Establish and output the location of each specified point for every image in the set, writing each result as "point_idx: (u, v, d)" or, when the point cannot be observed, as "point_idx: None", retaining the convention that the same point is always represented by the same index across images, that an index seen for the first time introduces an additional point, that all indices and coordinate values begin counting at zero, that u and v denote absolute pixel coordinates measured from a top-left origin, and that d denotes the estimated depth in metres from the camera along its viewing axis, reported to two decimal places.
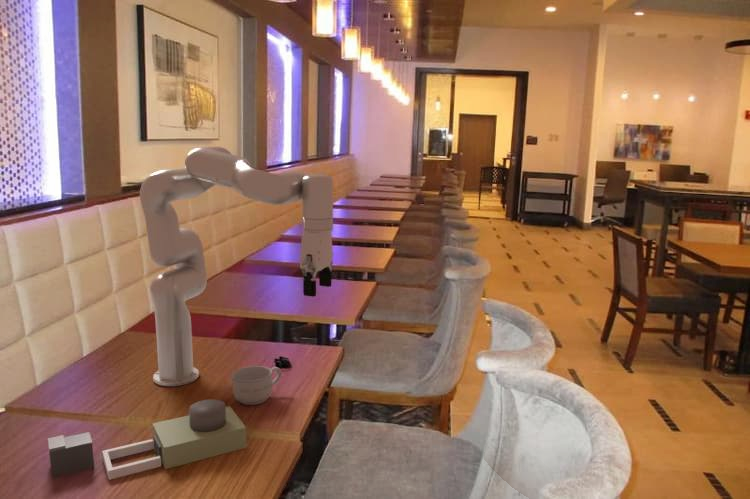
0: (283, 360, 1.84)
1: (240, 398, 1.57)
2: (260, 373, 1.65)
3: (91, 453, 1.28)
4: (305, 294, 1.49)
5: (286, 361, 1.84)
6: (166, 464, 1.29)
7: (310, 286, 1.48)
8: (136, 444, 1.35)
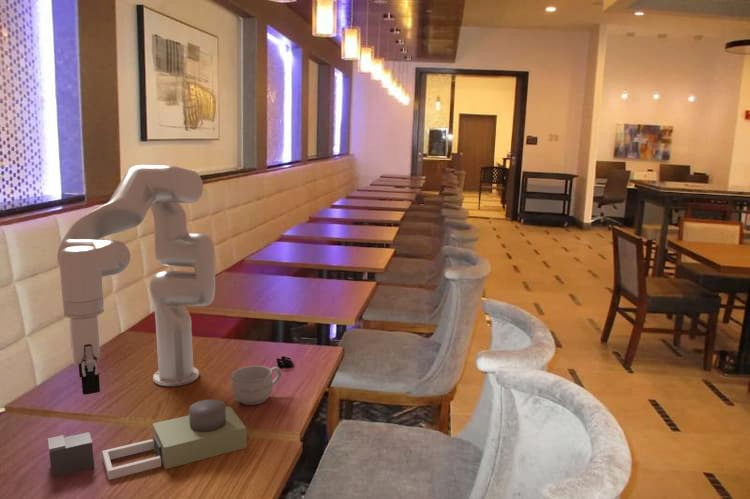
0: (285, 360, 1.84)
1: (240, 398, 1.57)
2: (260, 373, 1.65)
3: (91, 453, 1.28)
4: (85, 393, 1.23)
5: (288, 361, 1.84)
6: (166, 464, 1.29)
7: (94, 381, 1.23)
8: (136, 444, 1.35)
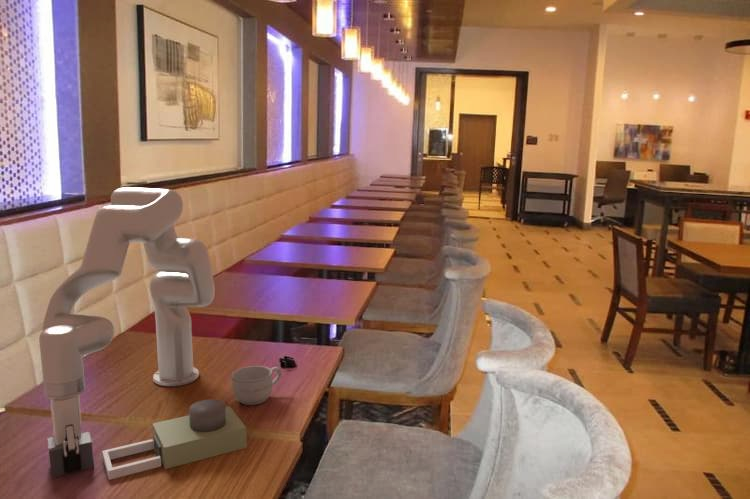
0: (288, 360, 1.85)
1: (240, 398, 1.57)
2: (260, 373, 1.65)
3: (91, 453, 1.28)
4: (67, 471, 1.26)
5: (291, 361, 1.85)
6: (166, 464, 1.29)
7: (76, 460, 1.26)
8: (136, 444, 1.35)
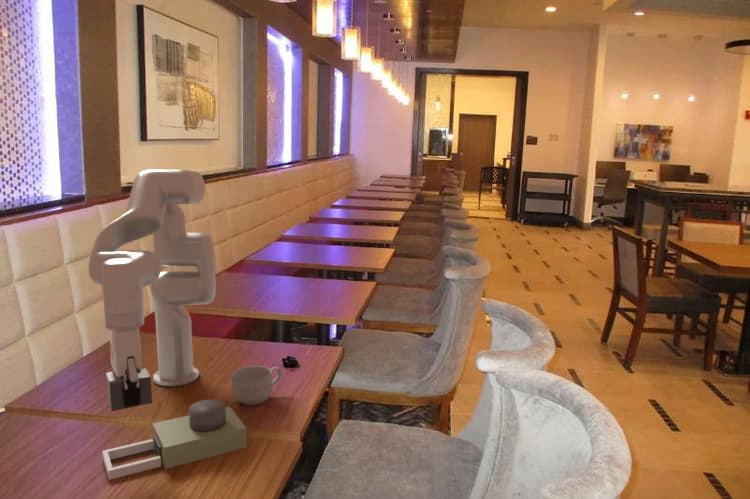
0: (291, 360, 1.85)
1: (240, 398, 1.57)
2: (260, 373, 1.65)
3: (149, 388, 1.28)
4: (127, 405, 1.25)
5: (294, 360, 1.85)
6: (166, 464, 1.29)
7: (136, 394, 1.25)
8: (136, 444, 1.35)
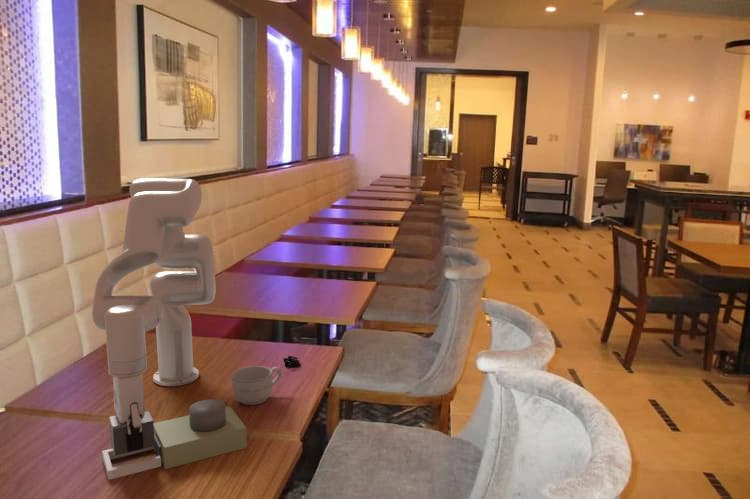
0: (292, 359, 1.85)
1: (240, 398, 1.57)
2: (260, 373, 1.65)
3: (152, 431, 1.30)
4: (130, 449, 1.27)
5: (295, 360, 1.85)
6: (166, 464, 1.29)
7: (139, 438, 1.27)
8: None
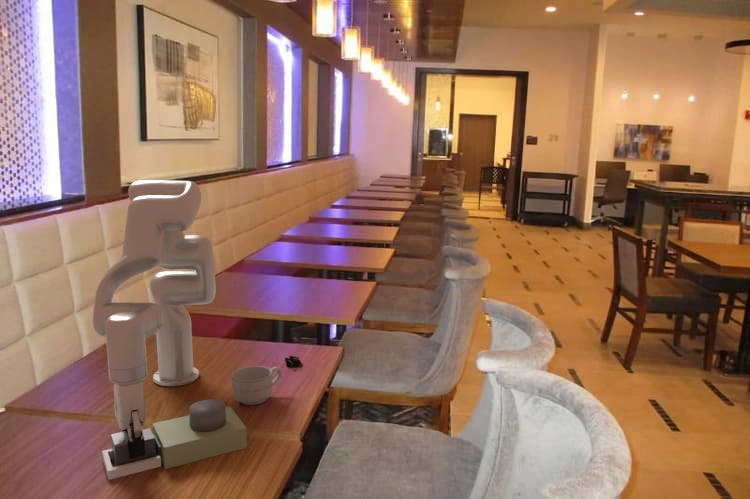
0: (294, 359, 1.85)
1: (240, 398, 1.57)
2: (260, 373, 1.65)
3: (153, 449, 1.31)
4: (132, 457, 1.26)
5: (297, 360, 1.85)
6: (166, 464, 1.29)
7: (140, 445, 1.26)
8: None
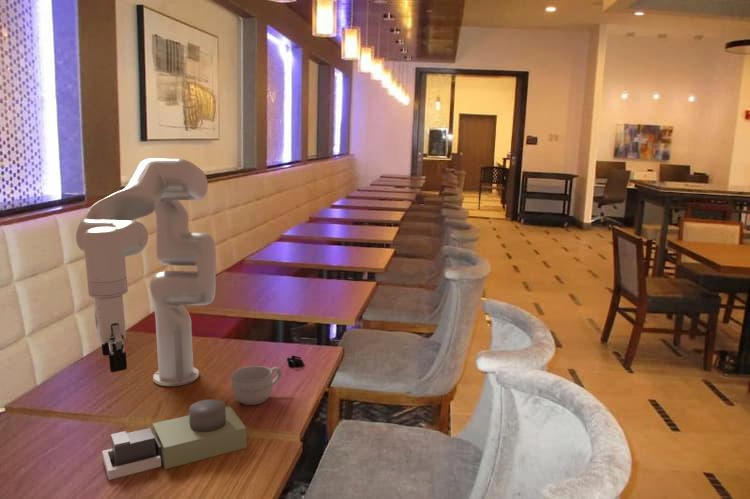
0: (296, 359, 1.85)
1: (240, 398, 1.57)
2: (260, 373, 1.65)
3: (153, 449, 1.31)
4: (113, 370, 1.26)
5: (299, 360, 1.85)
6: (166, 464, 1.29)
7: (122, 359, 1.26)
8: None
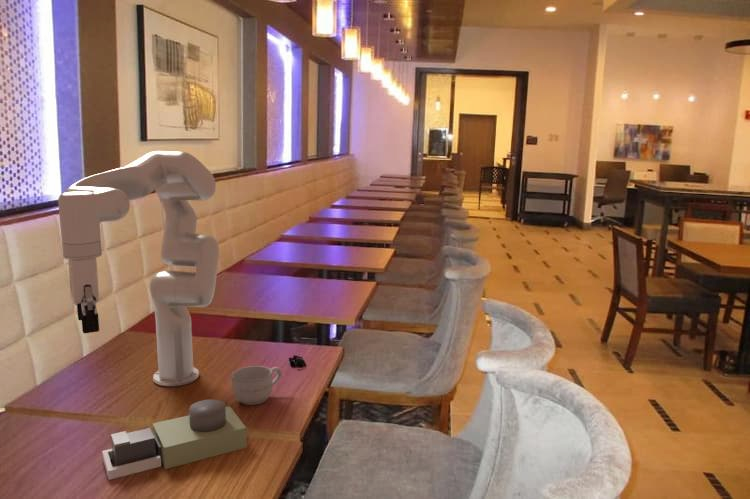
0: (298, 359, 1.85)
1: (240, 398, 1.57)
2: (260, 373, 1.65)
3: (153, 449, 1.31)
4: (85, 331, 1.28)
5: (301, 360, 1.85)
6: (166, 464, 1.29)
7: (94, 320, 1.28)
8: None
